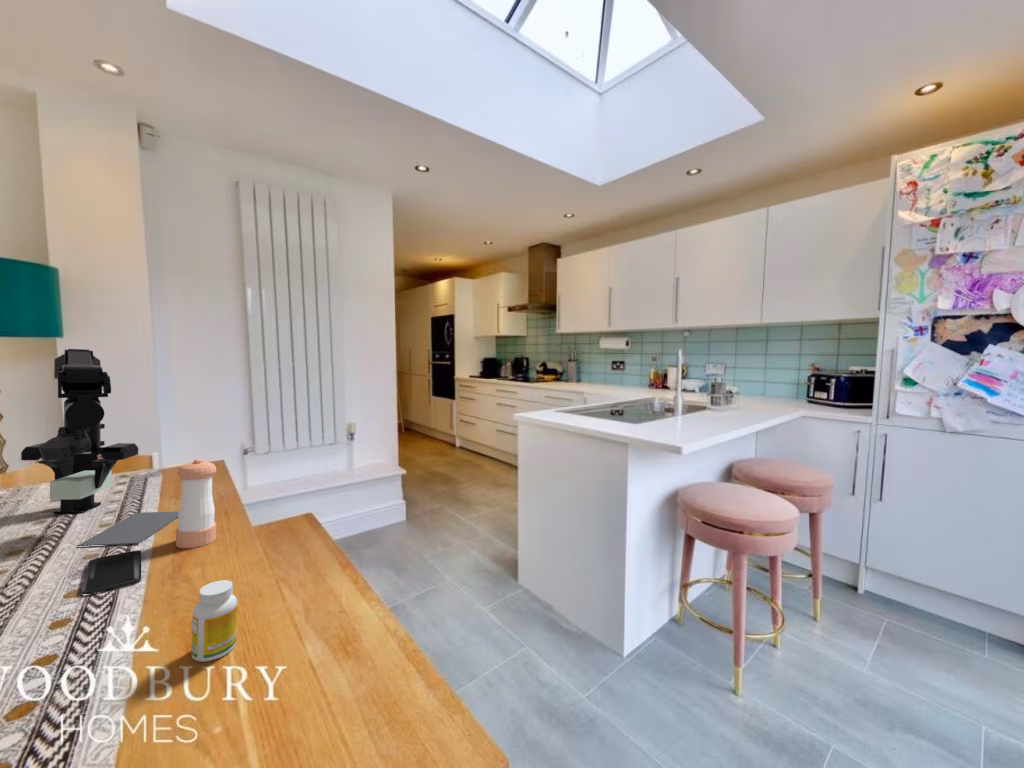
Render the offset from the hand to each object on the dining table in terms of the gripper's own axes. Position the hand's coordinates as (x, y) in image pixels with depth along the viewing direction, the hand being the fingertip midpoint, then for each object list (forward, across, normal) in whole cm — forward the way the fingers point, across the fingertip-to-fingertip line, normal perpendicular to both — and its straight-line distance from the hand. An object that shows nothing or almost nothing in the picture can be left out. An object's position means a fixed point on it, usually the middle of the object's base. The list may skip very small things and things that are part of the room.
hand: (82, 488), depth 93 cm
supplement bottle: (+11, +46, -46) cm, 66 cm away
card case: (+1, 0, 0) cm, 1 cm away
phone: (+11, +18, -20) cm, 29 cm away
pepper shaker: (+11, +26, -7) cm, 29 cm away
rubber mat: (+11, +10, +2) cm, 15 cm away
